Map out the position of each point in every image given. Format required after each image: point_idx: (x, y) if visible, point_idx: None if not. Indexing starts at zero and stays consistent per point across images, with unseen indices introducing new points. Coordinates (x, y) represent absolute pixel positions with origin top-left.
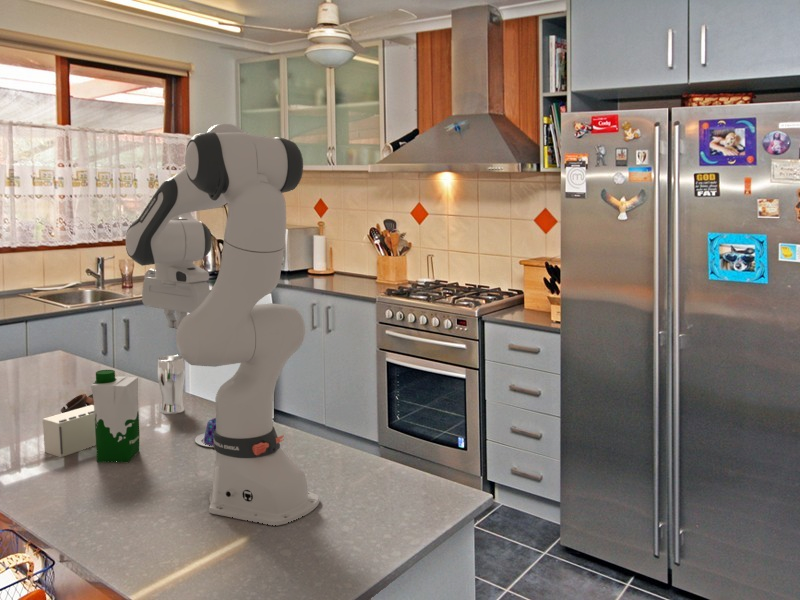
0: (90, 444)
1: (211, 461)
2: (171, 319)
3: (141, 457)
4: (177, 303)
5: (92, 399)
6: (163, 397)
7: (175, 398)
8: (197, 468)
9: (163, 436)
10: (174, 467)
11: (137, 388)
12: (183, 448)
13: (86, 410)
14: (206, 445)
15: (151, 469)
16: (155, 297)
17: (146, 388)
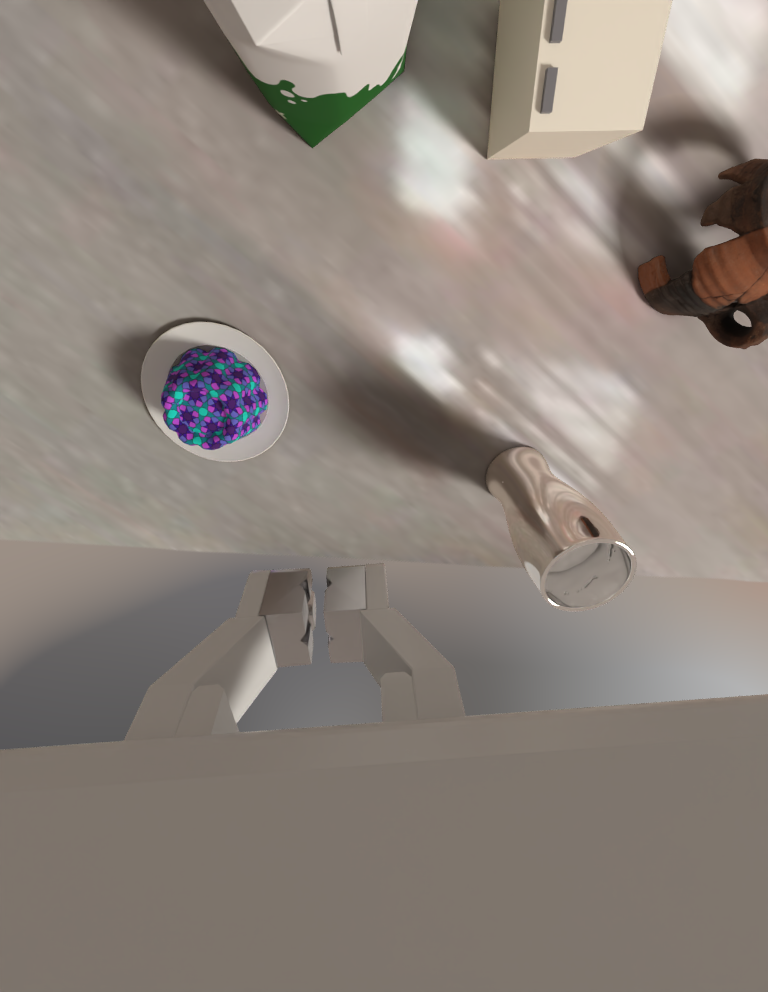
0: (498, 45)
1: (61, 245)
2: (368, 636)
3: (256, 106)
4: (1, 912)
5: (733, 275)
6: (540, 471)
7: (505, 488)
8: (23, 161)
9: (371, 314)
10: (81, 111)
11: (228, 23)
12: (231, 275)
13: (607, 32)
14: (200, 336)
15: (114, 27)
16: (752, 941)
17: (704, 547)
